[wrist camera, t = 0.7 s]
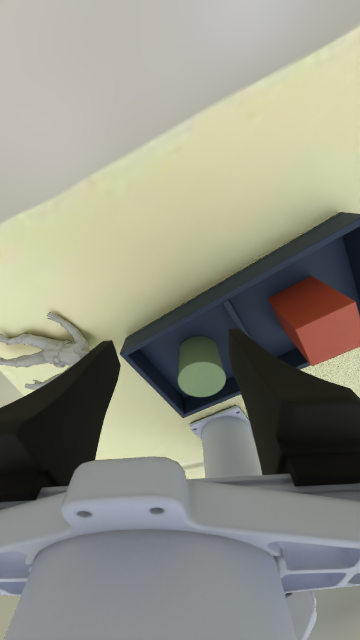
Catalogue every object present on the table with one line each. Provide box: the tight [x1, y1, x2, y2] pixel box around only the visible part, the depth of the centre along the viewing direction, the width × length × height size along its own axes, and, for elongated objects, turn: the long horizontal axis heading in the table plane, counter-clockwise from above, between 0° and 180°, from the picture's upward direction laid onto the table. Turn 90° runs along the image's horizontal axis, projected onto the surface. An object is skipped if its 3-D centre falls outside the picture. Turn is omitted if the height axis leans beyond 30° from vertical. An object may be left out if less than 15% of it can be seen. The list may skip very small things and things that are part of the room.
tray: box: [120, 212, 360, 418], centre depth 23 cm, size 12×24×3 cm, turn 123°
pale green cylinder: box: [178, 336, 226, 397], centre depth 23 cm, size 5×5×4 cm
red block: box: [268, 276, 360, 366], centre depth 19 cm, size 4×4×6 cm
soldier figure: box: [0, 312, 90, 390], centre depth 23 cm, size 8×5×12 cm
